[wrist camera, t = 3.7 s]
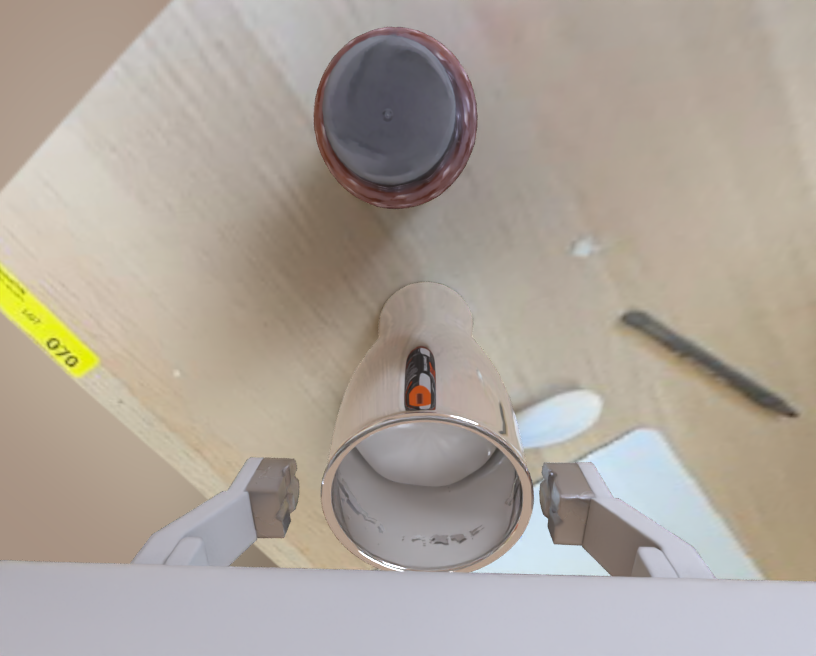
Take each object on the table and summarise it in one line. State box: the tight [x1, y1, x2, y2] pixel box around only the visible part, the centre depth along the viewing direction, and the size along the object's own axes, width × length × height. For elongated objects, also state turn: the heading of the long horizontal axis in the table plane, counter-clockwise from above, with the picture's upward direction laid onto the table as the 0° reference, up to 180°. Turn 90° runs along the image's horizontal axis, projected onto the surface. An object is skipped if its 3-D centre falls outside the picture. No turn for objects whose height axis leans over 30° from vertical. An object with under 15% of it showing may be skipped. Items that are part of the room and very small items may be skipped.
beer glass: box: [321, 282, 534, 573], centre depth 19 cm, size 7×7×15 cm
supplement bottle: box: [314, 27, 478, 209], centre depth 17 cm, size 6×6×11 cm
